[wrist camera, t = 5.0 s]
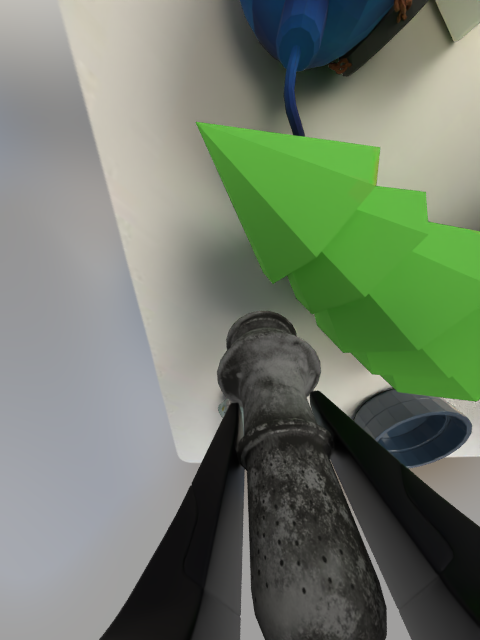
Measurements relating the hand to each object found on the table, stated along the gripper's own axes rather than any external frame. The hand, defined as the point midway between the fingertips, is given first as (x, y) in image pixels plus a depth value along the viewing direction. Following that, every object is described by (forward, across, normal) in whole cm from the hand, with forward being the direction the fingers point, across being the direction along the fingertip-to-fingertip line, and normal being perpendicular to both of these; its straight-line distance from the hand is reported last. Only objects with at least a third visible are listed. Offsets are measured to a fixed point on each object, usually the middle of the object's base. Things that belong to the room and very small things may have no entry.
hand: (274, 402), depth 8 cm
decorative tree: (+13, -9, -2) cm, 16 cm away
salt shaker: (+5, 0, 0) cm, 5 cm away
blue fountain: (+13, -19, +23) cm, 32 cm away
